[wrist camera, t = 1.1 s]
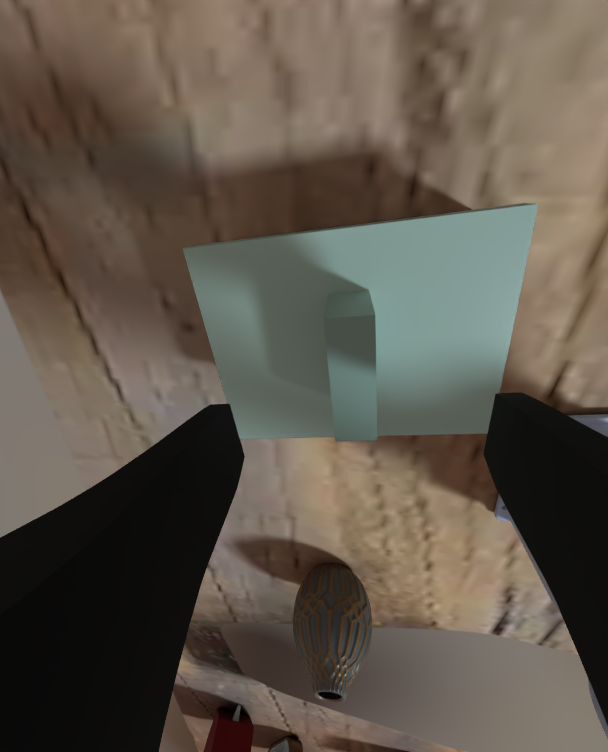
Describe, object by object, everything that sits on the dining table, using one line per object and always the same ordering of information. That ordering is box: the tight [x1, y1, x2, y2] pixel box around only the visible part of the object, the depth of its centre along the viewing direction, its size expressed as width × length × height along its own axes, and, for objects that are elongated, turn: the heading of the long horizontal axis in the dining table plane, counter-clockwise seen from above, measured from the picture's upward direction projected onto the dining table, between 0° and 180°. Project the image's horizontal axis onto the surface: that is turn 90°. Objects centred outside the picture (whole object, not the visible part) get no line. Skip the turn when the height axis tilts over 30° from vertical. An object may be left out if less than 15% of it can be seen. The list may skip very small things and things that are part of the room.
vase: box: [293, 564, 372, 703], centre depth 27 cm, size 7×7×9 cm
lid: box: [183, 203, 538, 441], centre depth 13 cm, size 10×13×5 cm
